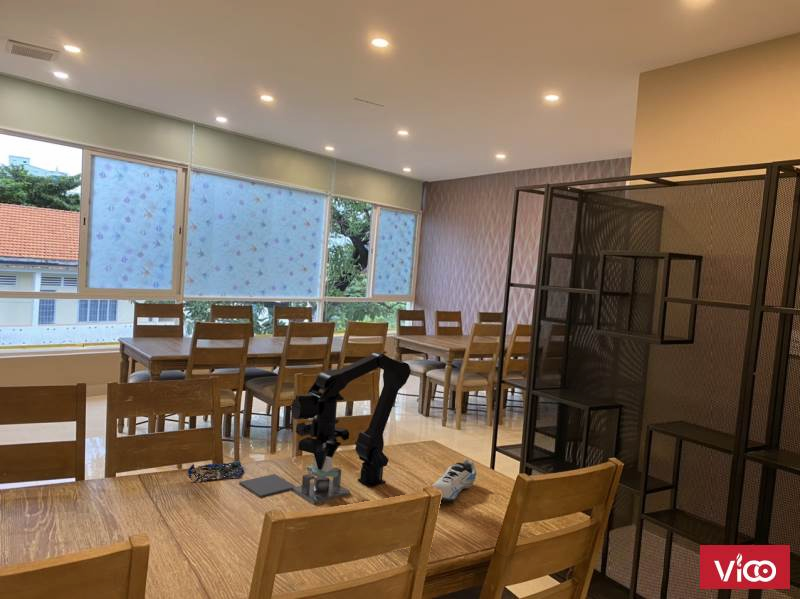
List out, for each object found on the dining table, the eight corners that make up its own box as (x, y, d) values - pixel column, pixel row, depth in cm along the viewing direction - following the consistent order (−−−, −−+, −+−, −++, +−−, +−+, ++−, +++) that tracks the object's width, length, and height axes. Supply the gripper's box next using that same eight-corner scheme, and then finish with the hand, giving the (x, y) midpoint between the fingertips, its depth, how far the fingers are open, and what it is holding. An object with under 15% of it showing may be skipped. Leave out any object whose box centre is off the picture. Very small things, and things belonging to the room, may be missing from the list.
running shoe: (418, 503, 164) (421, 473, 164) (454, 479, 186) (456, 452, 186) (446, 511, 160) (449, 480, 160) (479, 486, 182) (481, 458, 181)
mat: (274, 475, 176) (274, 473, 176) (295, 488, 168) (295, 486, 168) (239, 483, 168) (239, 481, 168) (259, 497, 160) (259, 495, 159)
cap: (341, 473, 167) (342, 457, 167) (330, 479, 161) (332, 463, 161) (313, 466, 171) (314, 451, 170) (302, 472, 165) (303, 456, 165)
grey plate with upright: (327, 481, 175) (329, 462, 174) (349, 494, 167) (351, 474, 167) (291, 491, 166) (293, 471, 165) (313, 504, 158) (315, 483, 158)
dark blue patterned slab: (191, 485, 166) (191, 480, 166) (186, 469, 177) (186, 464, 177) (247, 479, 174) (248, 474, 174) (239, 464, 185) (239, 459, 184)
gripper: (321, 405, 177) (317, 454, 178) (284, 417, 160) (280, 471, 161) (351, 411, 172) (348, 461, 173) (316, 424, 155) (312, 480, 156)
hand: (322, 468), depth 166 cm, fingers closed on cap, 2 cm apart
